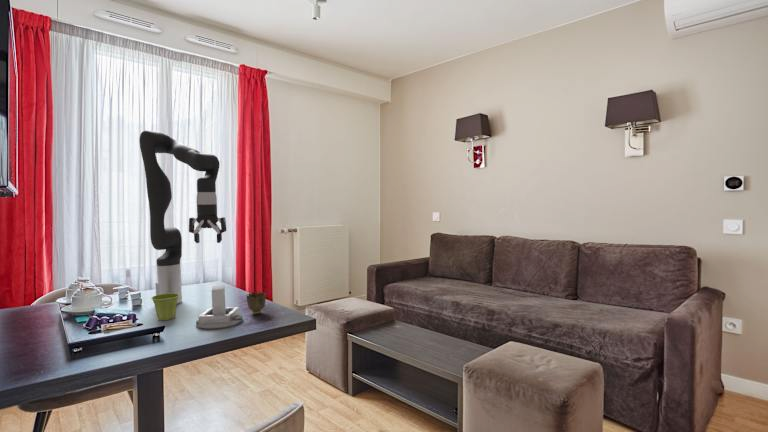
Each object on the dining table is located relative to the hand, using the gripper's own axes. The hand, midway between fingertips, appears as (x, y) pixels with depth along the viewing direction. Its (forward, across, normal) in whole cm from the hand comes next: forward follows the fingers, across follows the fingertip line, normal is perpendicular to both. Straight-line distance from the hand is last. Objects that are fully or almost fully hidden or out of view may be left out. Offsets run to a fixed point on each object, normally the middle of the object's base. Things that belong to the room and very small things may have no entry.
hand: (208, 242), depth 170 cm
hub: (+27, -10, +19) cm, 35 cm away
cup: (+28, -21, +9) cm, 36 cm away
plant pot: (+28, +13, +11) cm, 33 cm away
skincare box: (+26, -10, +19) cm, 34 cm away
